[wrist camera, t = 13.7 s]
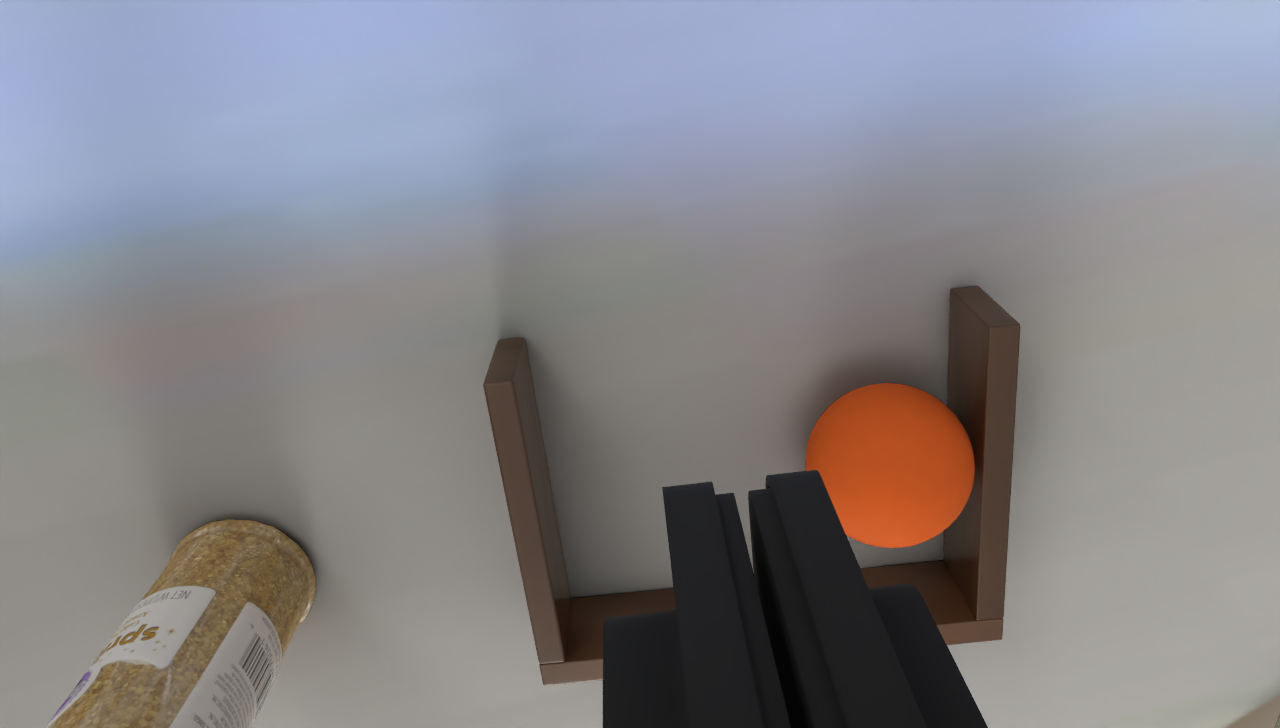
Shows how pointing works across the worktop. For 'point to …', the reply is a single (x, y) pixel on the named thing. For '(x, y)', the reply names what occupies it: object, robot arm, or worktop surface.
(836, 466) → the ball
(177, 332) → the worktop surface
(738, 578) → the robot arm
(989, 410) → the brown u-shaped piece
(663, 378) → the worktop surface
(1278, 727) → the screw
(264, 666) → the sprinkles bottle
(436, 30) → the worktop surface
